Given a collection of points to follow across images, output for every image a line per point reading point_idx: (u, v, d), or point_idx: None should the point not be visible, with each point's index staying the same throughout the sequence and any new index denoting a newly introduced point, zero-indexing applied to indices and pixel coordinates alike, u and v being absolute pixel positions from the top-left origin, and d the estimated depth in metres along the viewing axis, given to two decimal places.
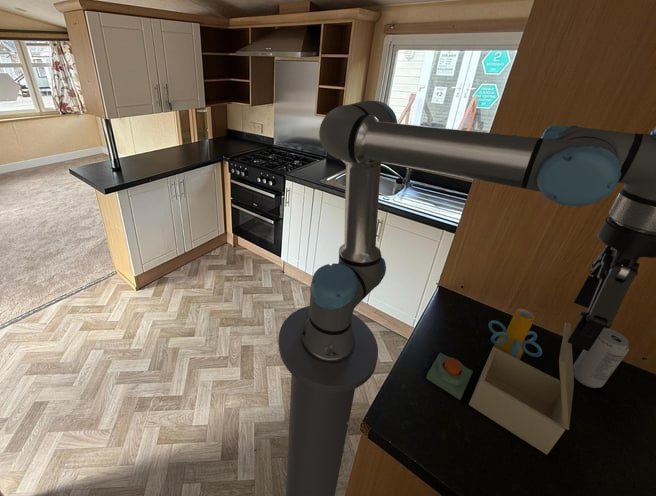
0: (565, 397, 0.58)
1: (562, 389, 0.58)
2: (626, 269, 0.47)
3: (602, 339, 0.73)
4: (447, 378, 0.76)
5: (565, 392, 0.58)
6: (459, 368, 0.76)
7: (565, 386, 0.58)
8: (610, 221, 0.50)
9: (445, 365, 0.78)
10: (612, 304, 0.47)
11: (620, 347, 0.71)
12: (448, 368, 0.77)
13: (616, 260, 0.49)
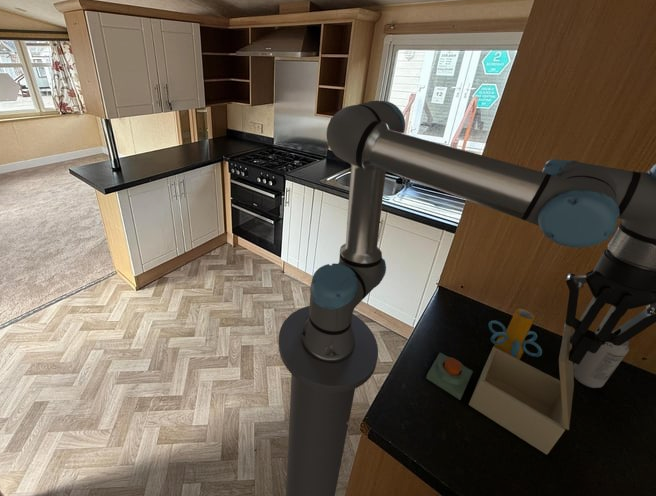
0: (565, 397, 0.58)
1: (562, 389, 0.58)
2: None
3: None
4: (447, 378, 0.76)
5: (565, 392, 0.58)
6: (459, 368, 0.76)
7: (565, 386, 0.58)
8: (646, 271, 0.48)
9: (445, 365, 0.78)
10: None
11: (620, 347, 0.71)
12: (448, 368, 0.77)
13: (655, 301, 0.50)
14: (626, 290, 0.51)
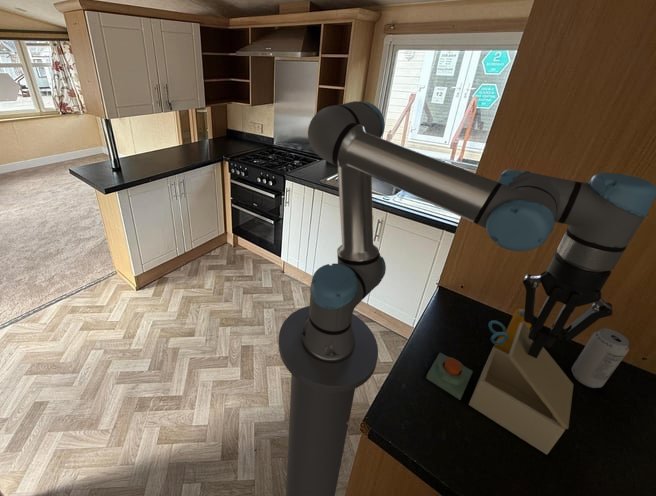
0: (539, 392, 0.61)
1: (531, 385, 0.62)
2: (611, 310, 0.54)
3: (602, 338, 0.73)
4: (447, 378, 0.76)
5: (535, 387, 0.61)
6: (459, 368, 0.76)
7: (530, 381, 0.62)
8: (588, 272, 0.52)
9: (445, 365, 0.78)
10: None
11: (620, 347, 0.71)
12: (448, 368, 0.77)
13: (598, 299, 0.55)
14: (574, 289, 0.56)
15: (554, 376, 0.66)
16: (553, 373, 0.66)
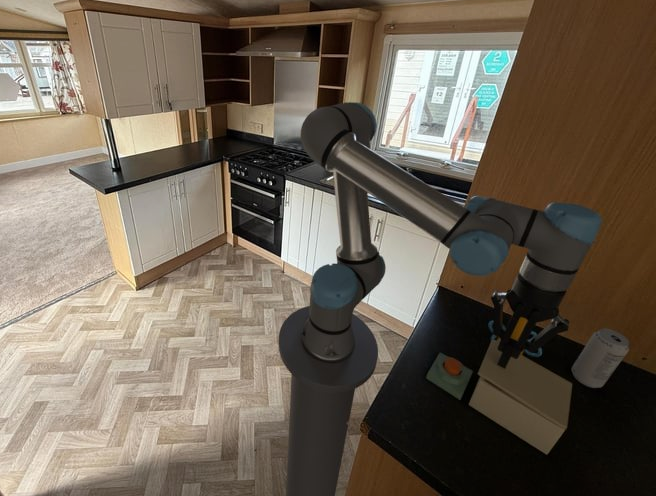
0: (520, 399, 0.64)
1: (510, 394, 0.65)
2: None
3: (602, 338, 0.73)
4: (447, 378, 0.76)
5: (514, 395, 0.65)
6: (459, 368, 0.76)
7: (507, 390, 0.66)
8: (545, 292, 0.58)
9: (445, 365, 0.78)
10: None
11: (620, 347, 0.71)
12: (448, 368, 0.77)
13: (556, 316, 0.60)
14: (535, 306, 0.62)
15: (541, 380, 0.68)
16: (539, 377, 0.68)
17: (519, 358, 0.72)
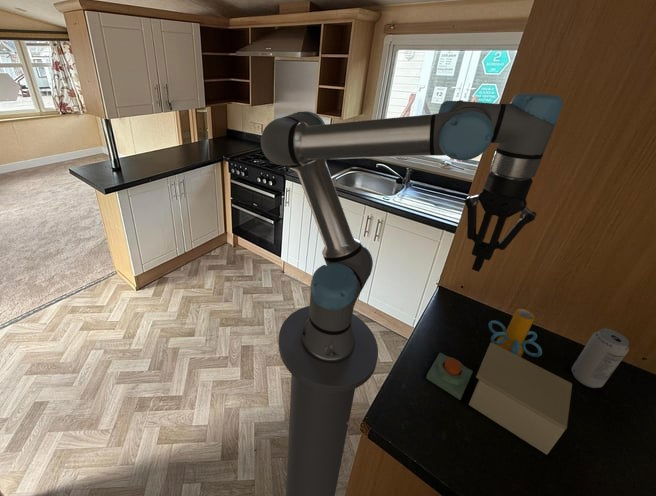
0: (519, 401, 0.64)
1: (509, 396, 0.66)
2: (535, 216, 0.63)
3: (602, 338, 0.73)
4: (447, 378, 0.76)
5: (512, 397, 0.65)
6: (459, 368, 0.76)
7: (505, 392, 0.66)
8: (512, 181, 0.61)
9: (445, 365, 0.78)
10: None
11: (620, 347, 0.71)
12: (448, 368, 0.77)
13: (523, 207, 0.63)
14: (504, 201, 0.65)
15: (540, 381, 0.68)
16: (538, 378, 0.69)
17: (518, 360, 0.73)
